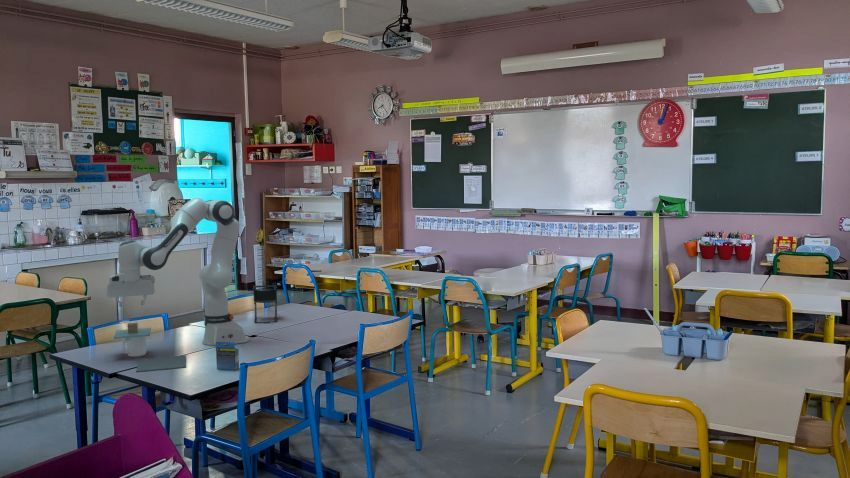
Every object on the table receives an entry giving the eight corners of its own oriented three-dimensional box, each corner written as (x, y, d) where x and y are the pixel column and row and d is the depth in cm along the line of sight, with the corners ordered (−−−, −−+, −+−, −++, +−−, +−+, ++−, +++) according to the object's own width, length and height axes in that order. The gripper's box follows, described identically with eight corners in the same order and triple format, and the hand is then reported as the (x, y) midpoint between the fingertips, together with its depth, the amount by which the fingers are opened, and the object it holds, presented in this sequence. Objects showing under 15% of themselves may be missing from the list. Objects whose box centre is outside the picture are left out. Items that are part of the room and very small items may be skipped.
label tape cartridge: (239, 368, 287) (238, 340, 286) (235, 370, 283) (234, 342, 282) (220, 367, 288) (219, 339, 287) (216, 369, 284) (215, 341, 283)
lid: (151, 329, 316) (150, 319, 316) (149, 336, 302) (149, 325, 302) (116, 331, 311) (116, 321, 311) (113, 338, 297) (113, 328, 297)
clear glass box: (254, 324, 375) (253, 285, 374) (254, 318, 392) (253, 281, 390) (277, 323, 378) (276, 285, 376) (277, 317, 395) (276, 280, 393)
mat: (186, 356, 306) (186, 355, 306) (186, 367, 287) (186, 366, 287) (139, 360, 299) (139, 359, 299) (136, 372, 280) (136, 371, 280)
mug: (128, 359, 300) (127, 337, 299) (116, 357, 304) (115, 335, 303) (150, 353, 311) (149, 332, 310) (138, 351, 315) (137, 330, 314)
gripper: (154, 273, 311) (156, 302, 312) (106, 276, 304) (108, 306, 305) (154, 275, 305) (155, 304, 306) (105, 278, 298) (107, 308, 299)
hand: (131, 305), depth 306 cm, fingers open, 8 cm apart
